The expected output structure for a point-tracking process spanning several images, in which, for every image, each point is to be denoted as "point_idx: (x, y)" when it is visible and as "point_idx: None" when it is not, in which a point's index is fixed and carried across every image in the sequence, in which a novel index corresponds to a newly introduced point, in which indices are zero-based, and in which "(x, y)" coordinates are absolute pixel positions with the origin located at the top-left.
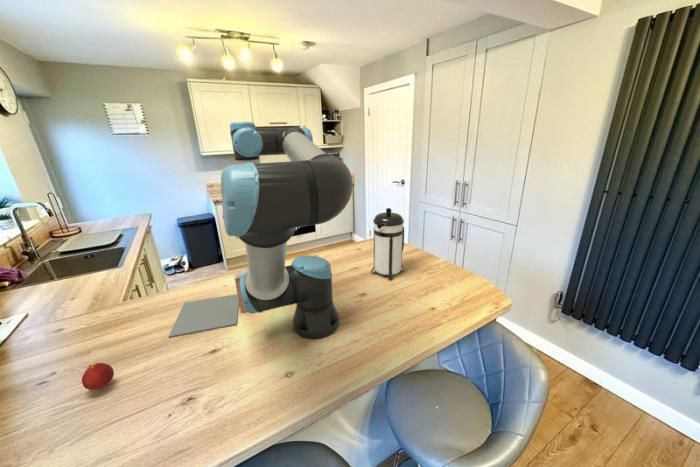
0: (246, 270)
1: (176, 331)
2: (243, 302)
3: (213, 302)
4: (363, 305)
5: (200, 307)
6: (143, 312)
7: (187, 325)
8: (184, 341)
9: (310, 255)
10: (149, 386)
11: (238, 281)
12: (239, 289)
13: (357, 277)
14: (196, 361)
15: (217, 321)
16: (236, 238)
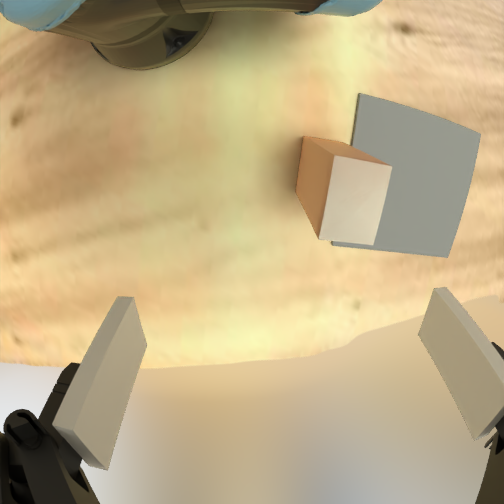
0: (340, 219)
1: (470, 142)
2: (342, 145)
3: (399, 228)
4: (29, 69)
5: (426, 218)
6: (496, 256)
7: (454, 153)
8: (456, 100)
9: (23, 3)
10: (483, 18)
11: (375, 160)
12: (364, 154)
13: (14, 208)
14: (432, 22)
15: (401, 129)
16: (446, 290)
